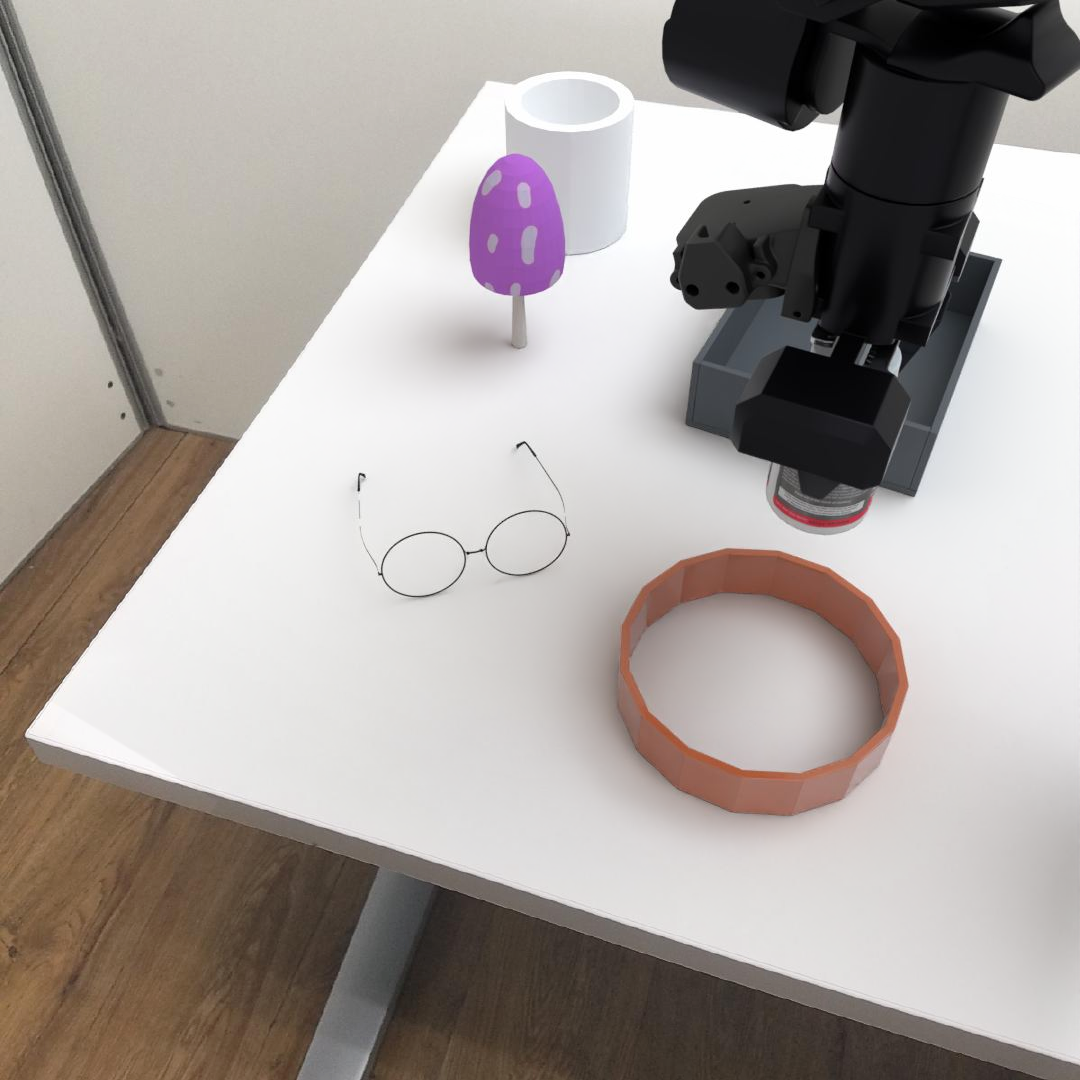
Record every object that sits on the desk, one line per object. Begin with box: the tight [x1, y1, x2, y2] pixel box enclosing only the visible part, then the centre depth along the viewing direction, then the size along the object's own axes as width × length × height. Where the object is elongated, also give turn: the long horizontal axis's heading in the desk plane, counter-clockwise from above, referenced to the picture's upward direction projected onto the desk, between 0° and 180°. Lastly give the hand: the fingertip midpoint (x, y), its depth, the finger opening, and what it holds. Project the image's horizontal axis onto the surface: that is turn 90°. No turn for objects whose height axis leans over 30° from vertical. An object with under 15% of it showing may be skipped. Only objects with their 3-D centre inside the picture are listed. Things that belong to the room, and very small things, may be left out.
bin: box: [684, 250, 1003, 497], centre depth 76 cm, size 16×21×6 cm
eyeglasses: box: [356, 440, 571, 598], centre depth 66 cm, size 11×13×5 cm
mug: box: [504, 70, 635, 256], centre depth 89 cm, size 14×10×11 cm
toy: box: [468, 154, 566, 349], centre depth 75 cm, size 7×7×15 cm
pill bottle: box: [765, 336, 902, 536], centre depth 52 cm, size 5×5×10 cm
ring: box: [616, 547, 910, 816], centre depth 58 cm, size 15×15×4 cm
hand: (828, 457), depth 53 cm, fingers closed on pill bottle, 5 cm apart
